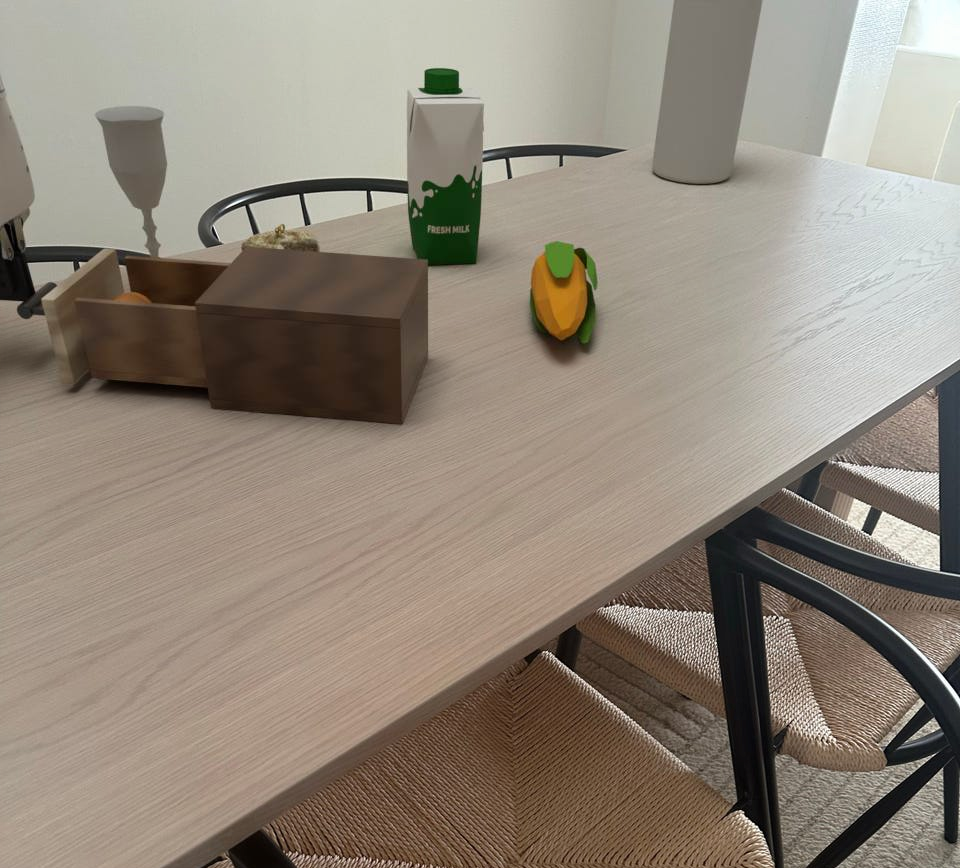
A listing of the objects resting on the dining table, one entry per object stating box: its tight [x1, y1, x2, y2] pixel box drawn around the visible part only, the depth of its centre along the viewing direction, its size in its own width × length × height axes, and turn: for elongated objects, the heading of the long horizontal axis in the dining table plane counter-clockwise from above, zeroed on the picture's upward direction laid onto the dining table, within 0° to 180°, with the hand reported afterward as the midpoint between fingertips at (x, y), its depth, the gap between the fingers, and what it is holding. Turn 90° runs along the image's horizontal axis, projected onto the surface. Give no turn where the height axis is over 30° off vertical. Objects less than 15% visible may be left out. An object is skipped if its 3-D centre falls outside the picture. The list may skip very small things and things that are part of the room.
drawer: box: [16, 247, 232, 389], centre depth 94 cm, size 22×14×8 cm, turn 83°
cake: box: [240, 223, 321, 252], centre depth 117 cm, size 10×10×5 cm
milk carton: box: [406, 67, 485, 266], centre depth 118 cm, size 9×9×20 cm
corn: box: [529, 240, 598, 344], centre depth 105 cm, size 7×8×20 cm
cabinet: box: [195, 247, 429, 425], centre depth 92 cm, size 18×15×10 cm
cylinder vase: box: [651, 0, 763, 185], centre depth 149 cm, size 12×12×25 cm
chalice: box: [94, 105, 168, 258], centre depth 107 cm, size 7×7×18 cm
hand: (16, 297), depth 94 cm, fingers closed
